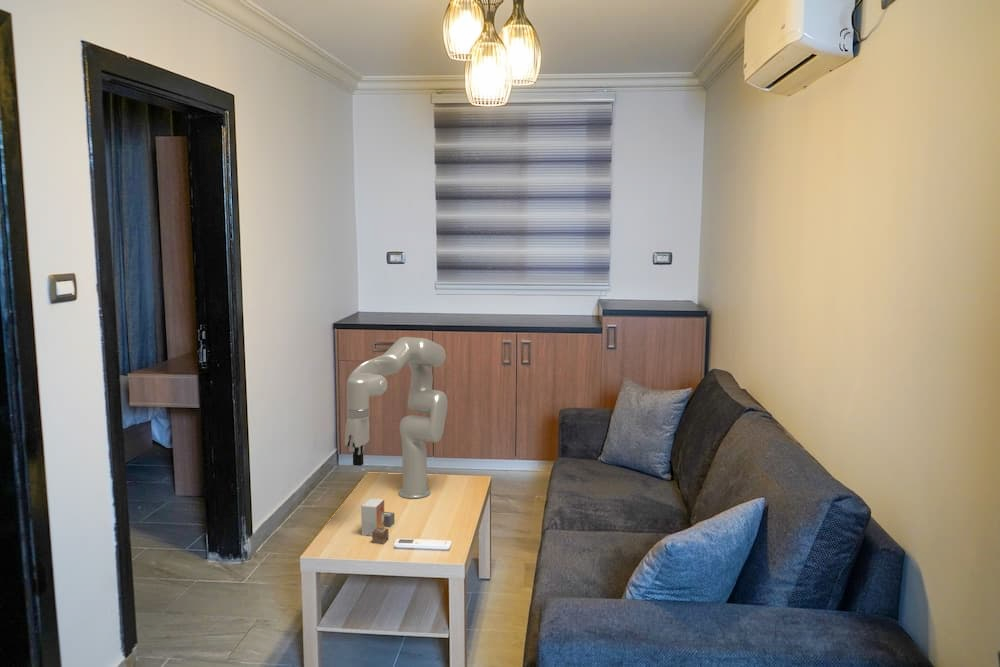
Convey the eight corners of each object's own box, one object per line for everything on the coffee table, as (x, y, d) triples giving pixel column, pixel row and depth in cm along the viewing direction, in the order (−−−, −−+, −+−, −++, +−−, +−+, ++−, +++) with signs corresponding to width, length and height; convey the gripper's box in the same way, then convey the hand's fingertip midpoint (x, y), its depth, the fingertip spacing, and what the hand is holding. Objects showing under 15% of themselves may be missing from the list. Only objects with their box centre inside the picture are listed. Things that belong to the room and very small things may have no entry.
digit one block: (384, 522, 267) (384, 511, 267) (394, 523, 266) (394, 512, 266) (379, 526, 264) (379, 515, 263) (389, 527, 263) (389, 516, 262)
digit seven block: (377, 538, 253) (377, 526, 253) (388, 540, 252) (388, 528, 251) (372, 543, 249) (372, 531, 249) (383, 544, 248) (383, 532, 248)
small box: (376, 536, 254) (376, 507, 253) (361, 535, 256) (360, 505, 254) (384, 527, 262) (384, 499, 261) (369, 526, 263) (369, 497, 262)
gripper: (358, 408, 266) (358, 458, 268) (337, 416, 251) (337, 469, 253) (377, 409, 263) (377, 460, 265) (357, 418, 249) (357, 472, 251)
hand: (358, 464), depth 259 cm, fingers closed
